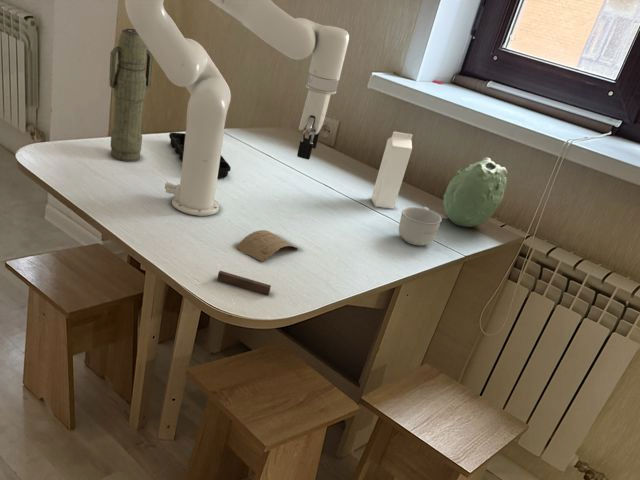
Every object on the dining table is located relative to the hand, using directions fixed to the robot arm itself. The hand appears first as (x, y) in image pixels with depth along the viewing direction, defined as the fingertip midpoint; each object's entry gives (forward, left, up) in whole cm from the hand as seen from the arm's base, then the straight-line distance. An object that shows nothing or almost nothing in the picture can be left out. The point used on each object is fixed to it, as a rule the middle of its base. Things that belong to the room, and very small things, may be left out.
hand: (306, 152), depth 172 cm
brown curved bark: (-2, -18, -20) cm, 27 cm away
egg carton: (-37, +27, -20) cm, 50 cm away
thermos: (-56, +16, -20) cm, 61 cm away
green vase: (+46, +35, -20) cm, 61 cm away
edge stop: (-2, -40, -20) cm, 45 cm away
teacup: (+33, +14, -20) cm, 41 cm away
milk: (+21, +34, -20) cm, 45 cm away
